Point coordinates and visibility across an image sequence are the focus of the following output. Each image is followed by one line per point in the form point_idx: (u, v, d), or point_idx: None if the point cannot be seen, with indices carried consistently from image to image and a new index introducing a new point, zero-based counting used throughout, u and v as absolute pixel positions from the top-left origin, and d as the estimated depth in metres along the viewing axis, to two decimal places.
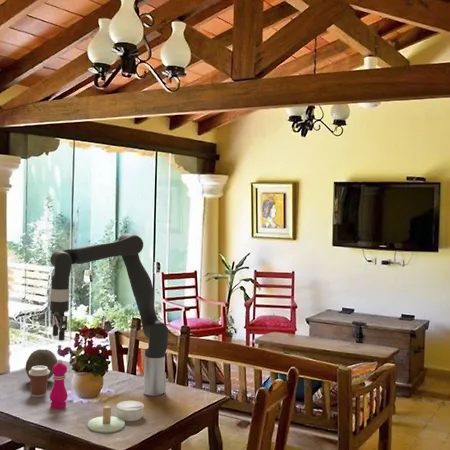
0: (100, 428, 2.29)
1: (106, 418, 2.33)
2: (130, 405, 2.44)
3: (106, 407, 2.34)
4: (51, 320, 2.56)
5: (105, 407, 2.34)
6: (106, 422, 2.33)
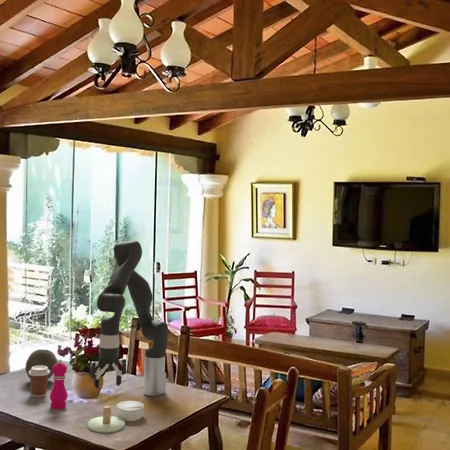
0: (100, 427, 2.29)
1: (106, 418, 2.33)
2: (130, 405, 2.44)
3: (106, 407, 2.34)
4: (93, 373, 2.29)
5: (105, 407, 2.34)
6: (106, 422, 2.33)
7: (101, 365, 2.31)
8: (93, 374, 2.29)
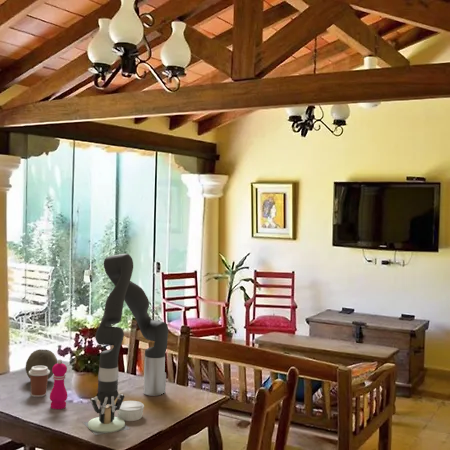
0: (100, 427, 2.29)
1: (106, 418, 2.33)
2: (130, 405, 2.44)
3: (106, 407, 2.34)
4: (97, 409, 2.31)
5: None
6: (106, 422, 2.33)
7: (101, 400, 2.31)
8: (97, 409, 2.31)
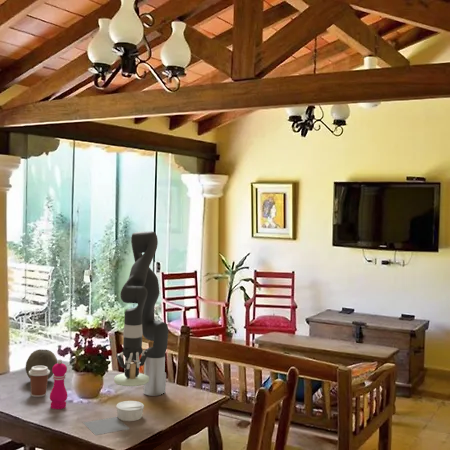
0: (126, 382, 2.39)
1: (131, 373, 2.43)
2: (130, 406, 2.44)
3: (131, 363, 2.44)
4: (122, 364, 2.41)
5: None
6: (131, 377, 2.43)
7: (126, 356, 2.41)
8: (123, 364, 2.41)
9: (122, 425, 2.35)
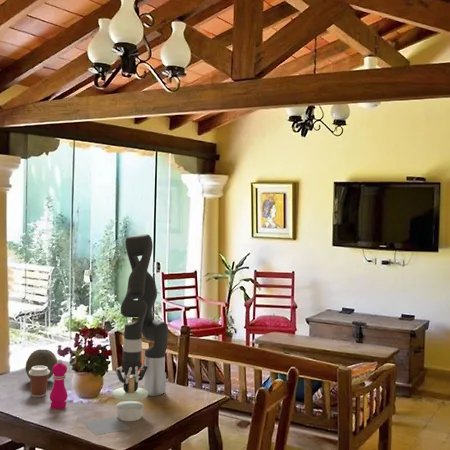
0: (124, 396, 2.39)
1: (130, 387, 2.43)
2: (130, 406, 2.44)
3: (130, 377, 2.44)
4: (121, 378, 2.41)
5: None
6: (130, 391, 2.43)
7: (125, 370, 2.42)
8: (122, 379, 2.41)
9: (122, 425, 2.35)
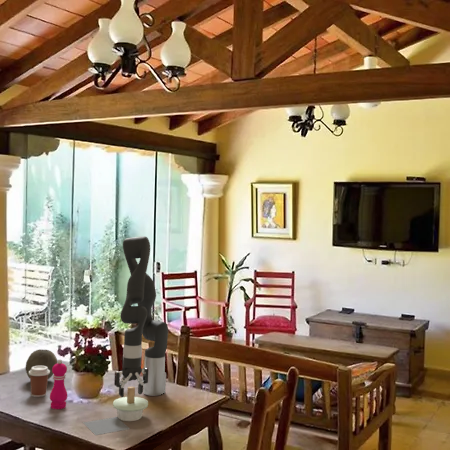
0: (124, 406, 2.39)
1: (130, 397, 2.43)
2: None
3: (130, 387, 2.44)
4: (118, 382, 2.40)
5: (129, 387, 2.44)
6: (130, 402, 2.43)
7: (125, 374, 2.42)
8: (118, 383, 2.40)
9: (122, 425, 2.35)
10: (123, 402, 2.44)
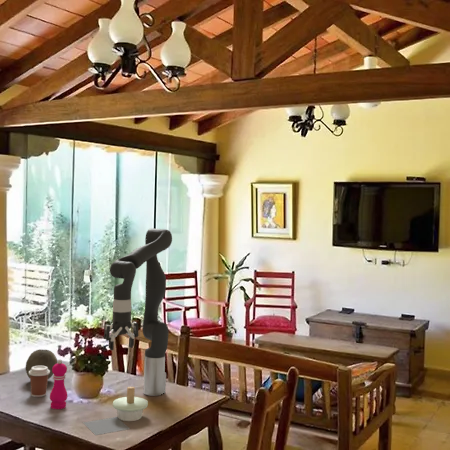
0: (124, 407, 2.39)
1: (130, 398, 2.43)
2: None
3: (130, 387, 2.44)
4: (108, 336, 2.44)
5: (129, 387, 2.44)
6: (130, 402, 2.43)
7: (115, 328, 2.46)
8: (108, 336, 2.44)
9: (122, 425, 2.35)
10: (123, 402, 2.44)
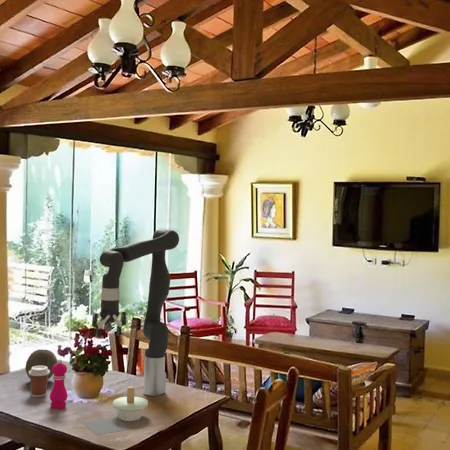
0: (124, 406, 2.39)
1: (130, 397, 2.43)
2: None
3: (130, 387, 2.45)
4: (95, 323, 2.50)
5: (129, 387, 2.44)
6: (130, 401, 2.43)
7: (103, 316, 2.52)
8: (95, 324, 2.50)
9: (122, 425, 2.35)
10: (123, 402, 2.44)
